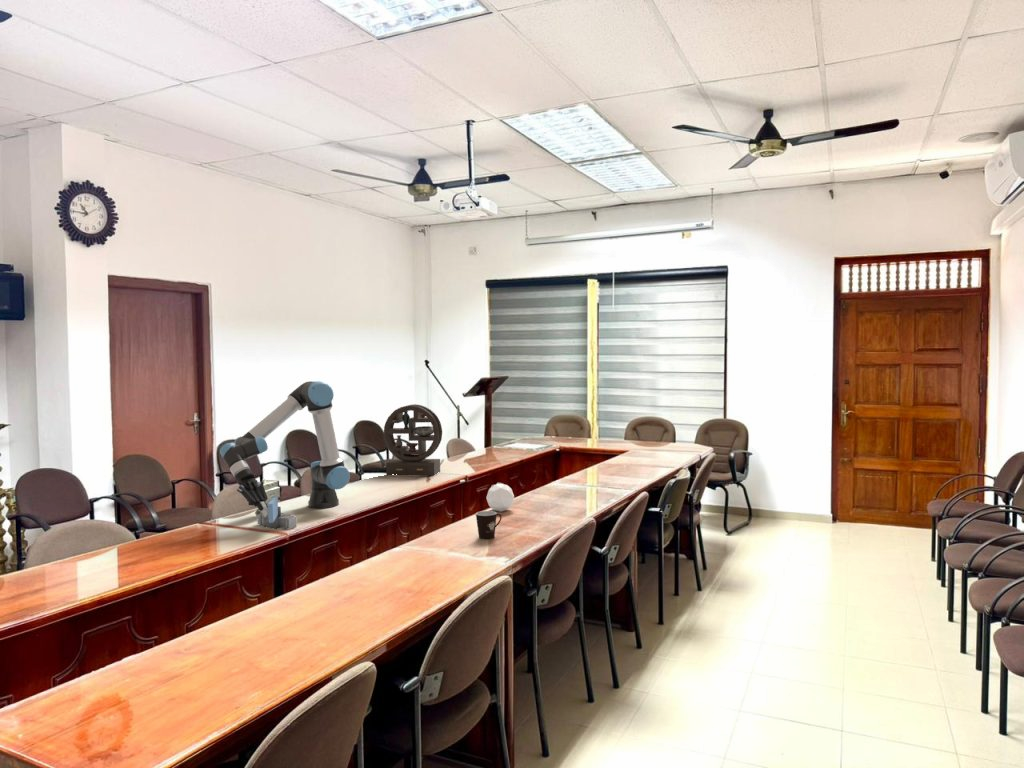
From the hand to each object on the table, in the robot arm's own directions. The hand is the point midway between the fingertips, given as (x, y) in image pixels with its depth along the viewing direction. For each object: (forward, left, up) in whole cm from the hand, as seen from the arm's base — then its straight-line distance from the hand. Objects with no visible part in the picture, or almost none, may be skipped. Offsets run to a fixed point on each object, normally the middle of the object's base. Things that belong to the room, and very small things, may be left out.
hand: (267, 515), depth 294 cm
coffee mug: (-33, +93, -7) cm, 99 cm away
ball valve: (-20, -25, -7) cm, 33 cm away
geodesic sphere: (-78, +72, -7) cm, 106 cm away
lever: (-3, +1, -2) cm, 3 cm away
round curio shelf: (-148, -34, -7) cm, 152 cm away
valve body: (-8, -4, -7) cm, 12 cm away
